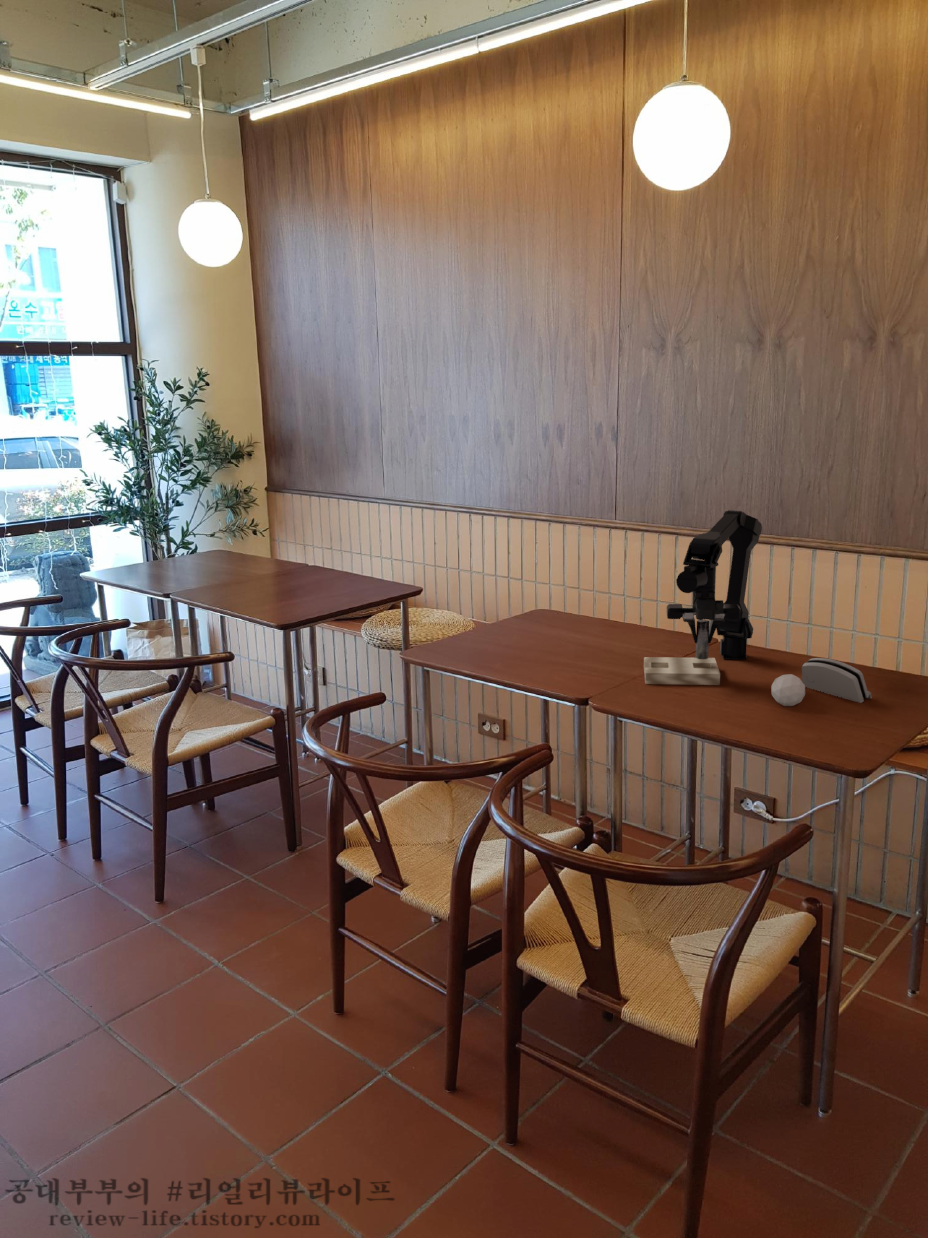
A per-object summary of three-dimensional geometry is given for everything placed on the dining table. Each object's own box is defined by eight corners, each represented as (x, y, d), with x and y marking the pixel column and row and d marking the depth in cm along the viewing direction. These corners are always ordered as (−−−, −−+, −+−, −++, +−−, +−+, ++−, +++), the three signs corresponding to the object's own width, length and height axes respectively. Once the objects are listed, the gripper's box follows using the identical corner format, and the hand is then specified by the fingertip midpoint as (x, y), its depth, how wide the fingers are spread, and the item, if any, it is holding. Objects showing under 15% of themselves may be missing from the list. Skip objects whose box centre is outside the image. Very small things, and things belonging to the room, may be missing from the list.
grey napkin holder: (873, 698, 229) (867, 664, 225) (862, 708, 227) (856, 674, 223) (813, 682, 242) (807, 649, 238) (802, 691, 240) (796, 659, 236)
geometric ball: (786, 718, 226) (776, 698, 221) (771, 697, 232) (761, 677, 228) (815, 703, 225) (805, 682, 220) (798, 682, 231) (789, 662, 227)
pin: (707, 655, 250) (708, 619, 248) (708, 659, 247) (709, 622, 244) (695, 655, 251) (696, 619, 248) (696, 659, 248) (697, 622, 245)
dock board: (714, 668, 256) (714, 657, 255) (719, 684, 243) (720, 674, 242) (643, 667, 259) (643, 657, 259) (645, 683, 246) (645, 673, 245)
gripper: (669, 592, 238) (668, 651, 242) (745, 592, 235) (742, 652, 239) (666, 583, 248) (665, 639, 252) (739, 582, 245) (737, 640, 249)
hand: (702, 642), depth 248 cm, fingers closed on pin, 3 cm apart
